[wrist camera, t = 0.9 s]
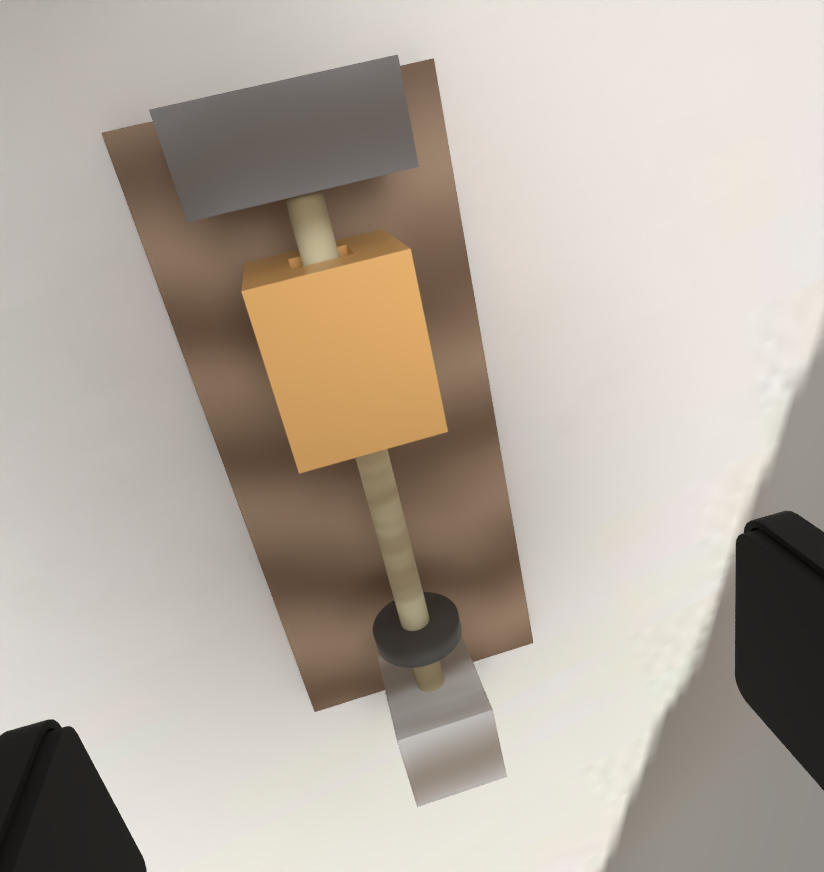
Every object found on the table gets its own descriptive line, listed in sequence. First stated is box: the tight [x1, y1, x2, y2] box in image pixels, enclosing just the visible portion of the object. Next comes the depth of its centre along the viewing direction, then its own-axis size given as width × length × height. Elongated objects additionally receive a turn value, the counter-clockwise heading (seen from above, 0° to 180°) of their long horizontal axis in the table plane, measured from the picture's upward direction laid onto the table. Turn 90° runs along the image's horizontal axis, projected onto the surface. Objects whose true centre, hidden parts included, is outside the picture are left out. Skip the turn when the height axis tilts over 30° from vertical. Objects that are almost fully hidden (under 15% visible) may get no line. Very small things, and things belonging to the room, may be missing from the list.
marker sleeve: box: [241, 229, 448, 474], centre depth 23 cm, size 6×5×5 cm
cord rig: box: [102, 55, 533, 807], centre depth 27 cm, size 28×12×8 cm, turn 12°
